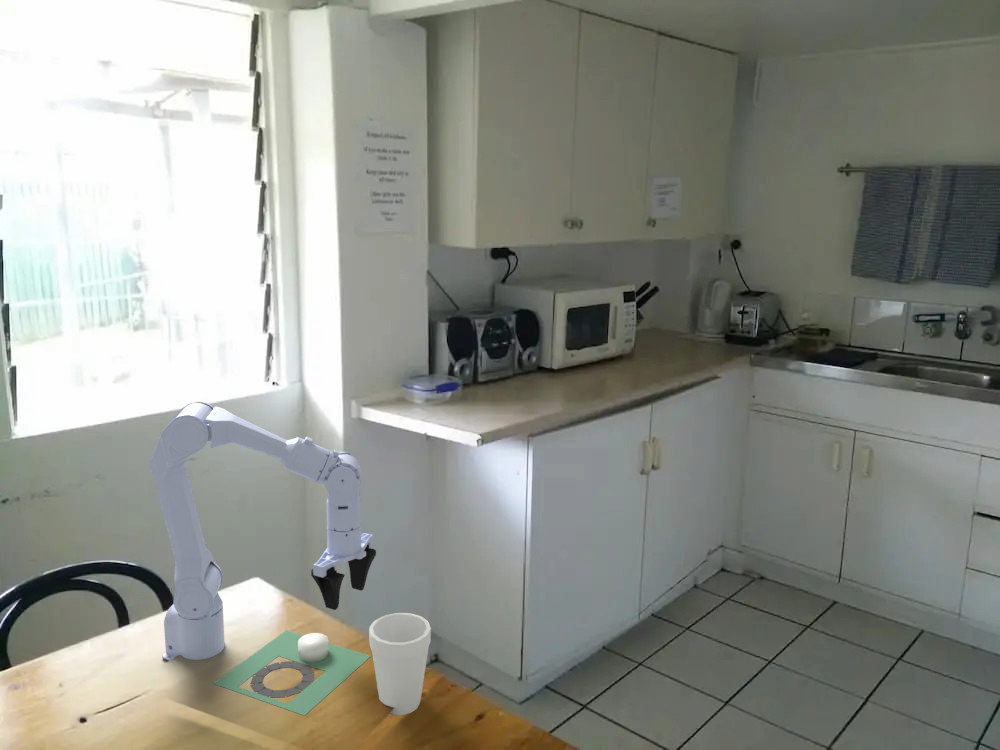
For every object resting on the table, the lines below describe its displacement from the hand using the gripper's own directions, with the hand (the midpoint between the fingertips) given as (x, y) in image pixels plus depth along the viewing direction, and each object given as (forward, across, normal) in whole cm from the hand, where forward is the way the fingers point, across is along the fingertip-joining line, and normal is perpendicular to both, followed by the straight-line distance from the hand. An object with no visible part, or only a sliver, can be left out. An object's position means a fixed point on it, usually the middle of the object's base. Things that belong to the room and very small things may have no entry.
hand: (345, 598), depth 139 cm
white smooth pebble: (+8, -6, +2) cm, 10 cm away
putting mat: (+10, -11, +2) cm, 15 cm away
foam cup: (+10, -9, -17) cm, 22 cm away
